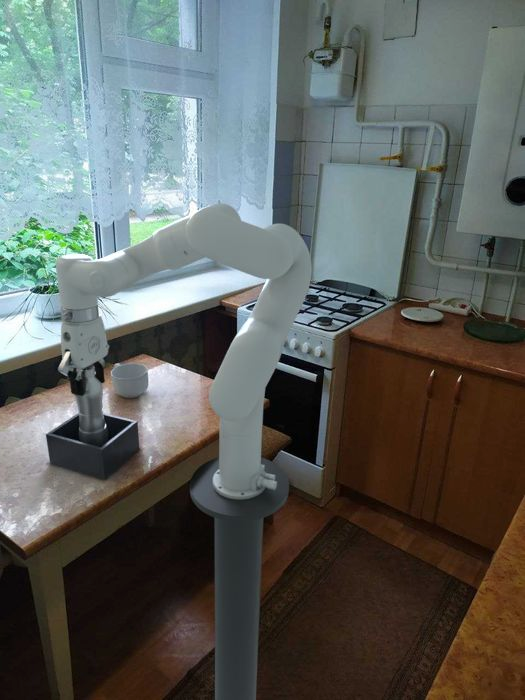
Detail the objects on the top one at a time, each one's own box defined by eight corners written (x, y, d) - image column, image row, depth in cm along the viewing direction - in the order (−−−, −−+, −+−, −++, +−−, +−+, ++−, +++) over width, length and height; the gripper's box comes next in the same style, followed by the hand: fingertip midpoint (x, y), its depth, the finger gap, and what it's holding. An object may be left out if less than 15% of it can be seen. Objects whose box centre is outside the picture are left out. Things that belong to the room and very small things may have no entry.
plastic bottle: (97, 453, 115) (89, 375, 107) (73, 447, 117) (63, 370, 109) (114, 439, 120) (107, 364, 113) (91, 433, 123) (83, 359, 115)
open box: (139, 449, 123) (137, 421, 120) (104, 480, 112) (101, 449, 109) (88, 435, 128) (85, 408, 125) (50, 463, 117) (45, 434, 114)
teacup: (154, 396, 150) (153, 372, 147) (119, 405, 144) (117, 380, 141) (137, 379, 160) (136, 356, 157) (104, 386, 154) (102, 363, 151)
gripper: (66, 327, 98) (75, 408, 104) (119, 305, 113) (125, 376, 119) (36, 322, 100) (47, 400, 107) (92, 300, 115) (99, 370, 122)
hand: (88, 387), depth 113 cm, fingers closed on plastic bottle, 6 cm apart
